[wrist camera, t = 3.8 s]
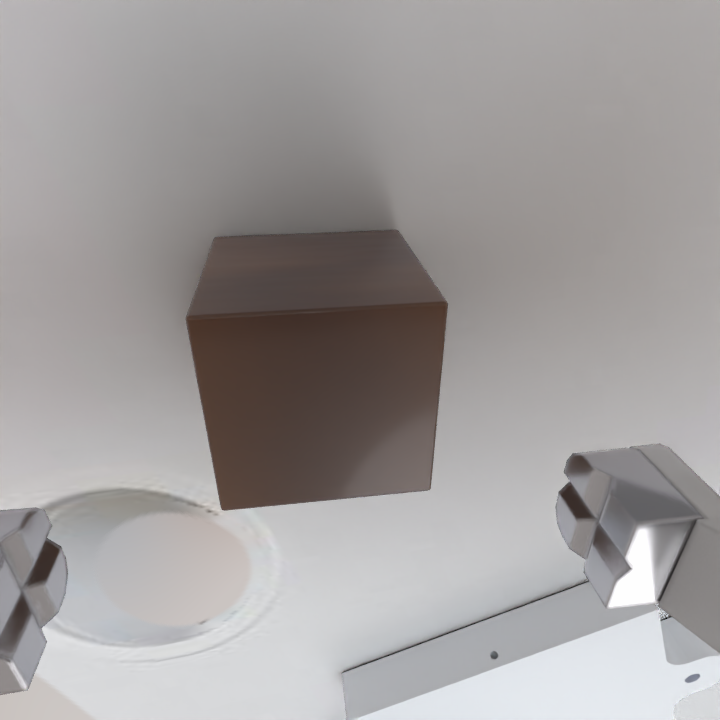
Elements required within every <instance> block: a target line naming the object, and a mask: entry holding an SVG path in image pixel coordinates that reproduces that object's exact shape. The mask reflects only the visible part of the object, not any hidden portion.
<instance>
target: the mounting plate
mask: <svg viewBox="0 0 720 720" xmlns="http://www.w3.org/2000/svg"><path fill="white" fill-rule="evenodd" d="M342 680H343V690H344V700H345V710H346V719H347V720H675V714H674V707H675V705H676V704H677V703H678V702H679V701H680V700H682V699H683V698H685V697H687V696H689V695H691V694H694V693H696V692H699V691H702V690H705V689H708V688H710V687H712V686H714V685H715V684H717V683H718V682H720V654H719V653H718V652H717V651H716V650H714V649H713V648H712V647H710V646H709V645H708V644H706V643H705V642H704V641H703V640H701V639H700V638H699V637H697V636H696V635H695V634H693V633H692V632H691V631H690V630H688V629H687V628H686V627H684V626H683V625H682V624H680V623H679V622H678V621H677V620H675V619H674V618H673V617H671V618H668V619H665V620H662V621H660V615H659V609H658V608H657V606H656V605H655V604H648V605H639V606H630V607H620V608H611V609H606V608H605V606H604V604H603V603H602V601H601V600H600V598H599V596H598V595H597V593H596V591H595V590H594V588H593V587H592V585H591V583H590V582H587V583H584V584H582V585H579V586H576V587H574V588H571V589H568V590H565V591H563V592H560V593H557V594H555V595H552V596H549V597H547V598H544V599H541V600H538V601H536V602H533V603H530V604H528V605H525V606H522V607H520V608H517V609H514V610H511V611H509V612H506V613H503V614H501V615H498V616H495V617H493V618H490V619H487V620H484V621H482V622H479V623H476V624H474V625H471V626H468V627H466V628H463V629H460V630H457V631H455V632H452V633H449V634H447V635H444V636H441V637H439V638H436V639H433V640H430V641H428V642H425V643H422V644H420V645H417V646H414V647H411V648H409V649H406V650H403V651H401V652H398V653H395V654H393V655H390V656H387V657H384V658H382V659H379V660H376V661H374V662H371V663H368V664H366V665H363V666H360V667H357V668H355V669H352V670H349V671H347V672H344V673H342Z"/></svg>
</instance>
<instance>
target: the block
mask: <svg viewBox="0 0 720 720" xmlns="http://www.w3.org/2000/svg"><path fill="white" fill-rule="evenodd" d="M447 309H448V303H447V301H446V300H445V298H444V297H443V295H442V294H441V292H440V291H439V289H438V288H437V287H436V285H435V284H434V282H433V281H432V279H431V278H430V276H429V275H428V273H427V272H426V270H425V269H424V268H423V266H422V265H421V263H420V262H419V260H418V259H417V257H416V256H415V254H414V253H413V252H412V250H411V249H410V247H409V246H408V244H407V243H406V241H405V240H404V238H403V237H402V236H401V234H400V233H399V231H397V230H384V231H358V232H333V233H307V234H281V235H255V236H229V237H215V238H214V240H213V243H212V246H211V249H210V251H209V254H208V257H207V260H206V263H205V265H204V268H203V271H202V274H201V277H200V279H199V282H198V285H197V288H196V291H195V294H194V296H193V299H192V302H191V305H190V308H189V310H188V313H187V316H186V324H187V329H188V335H189V340H190V345H191V351H192V356H193V361H194V367H195V372H196V377H197V383H198V388H199V393H200V399H201V404H202V409H203V415H204V420H205V425H206V431H207V436H208V441H209V447H210V452H211V457H212V463H213V468H214V473H215V479H216V484H217V489H218V495H219V500H220V505H221V509H222V510H224V511H225V510H235V509H245V508H255V507H265V506H275V505H286V504H296V503H306V502H316V501H326V500H336V499H346V498H356V497H367V496H377V495H387V494H397V493H407V492H417V491H427V490H430V488H431V479H432V468H433V458H434V447H435V436H436V426H437V415H438V404H439V394H440V383H441V373H442V362H443V351H444V341H445V330H446V319H447Z"/></svg>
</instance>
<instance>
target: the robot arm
mask: <svg viewBox="0 0 720 720" xmlns="http://www.w3.org/2000/svg"><path fill="white" fill-rule="evenodd" d="M564 473H565V474H566V476H567V477H568V479H569V480H570V481H569V482H568V483H567V484H566V485H565V486H564V487H563V488H562V489H561V490H560V491H559V493H558V498H557V503H556V515H557V524H558V526H559V529H560V532H561V534H562V537H563V538H564V540H565V542H566V544H567V545H568V547H569V549H571V550H572V551H574V552H575V553H577V554H578V555H580V556H581V557H583V558H584V559H585V566H584V574H585V575H586V577H587V578H588V580H589V582H590V583H591V585H592V587H593V588H594V590H595V591H596V593H597V595H598V596H599V598H600V600H601V601H602V603H603V604H604V606H605V608H606V609H611V608H620V607H630V606H639V605H648V604H657V603H659V605H658V607H660V608H661V609H662V610H664V611H665V612H666V613H667V614H669V615H670V616H671V617H673V618H674V619H675V620H677V621H678V622H679V623H680V624H682V625H683V626H684V627H686V628H687V629H688V630H690V631H691V632H692V633H693V634H695V635H696V636H697V637H699V638H700V639H701V640H703V641H704V642H705V643H706V644H708V645H709V646H710V647H712V648H713V649H714V650H716V651H717V652H718V653H719V654H720V496H719V495H718V494H717V493H716V492H715V491H714V490H713V489H711V488H710V487H709V486H708V485H707V484H706V483H705V482H704V481H703V480H702V479H701V478H700V477H699V476H698V475H697V474H696V473H695V472H694V471H693V470H692V469H691V468H690V467H689V466H688V465H687V464H686V463H685V462H684V461H683V460H682V459H681V458H680V457H679V456H677V455H676V454H675V453H674V452H673V451H672V450H671V449H670V448H669V447H667V446H665V445H662V444H660V443H659V444H650V445H641V446H633V447H630V448H617V449H608V450H599V451H590V452H581V453H573V454H572V455H571V456H570V457H569V459H568V460H567V462H566V466H565V470H564ZM51 528H52V524H51V522H50V520H49V518H48V516H47V513H46V511H45V510H44V509H40V508H23V509H10V510H0V695H3V694H8V693H15V692H20V691H27V690H28V689H29V686H30V684H31V681H32V678H33V676H34V674H35V671H36V669H37V666H38V664H39V661H40V658H41V656H42V653H43V651H44V648H45V646H46V643H47V641H46V638H45V636H44V634H43V631H42V629H41V628H42V627H43V626H45V625H46V624H47V623H48V622H49V621H50V620H51V619H52V618H53V617H54V616H55V615H56V614H57V613H58V612H59V610H60V607H61V605H62V602H63V599H64V596H65V593H66V585H67V577H68V569H67V562H66V557H65V555H64V552H63V550H62V547H61V546H59V545H58V544H56V543H54V542H53V541H51V540H49V539H48V538H47V536H48V534H49V532H50V530H51Z"/></svg>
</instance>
